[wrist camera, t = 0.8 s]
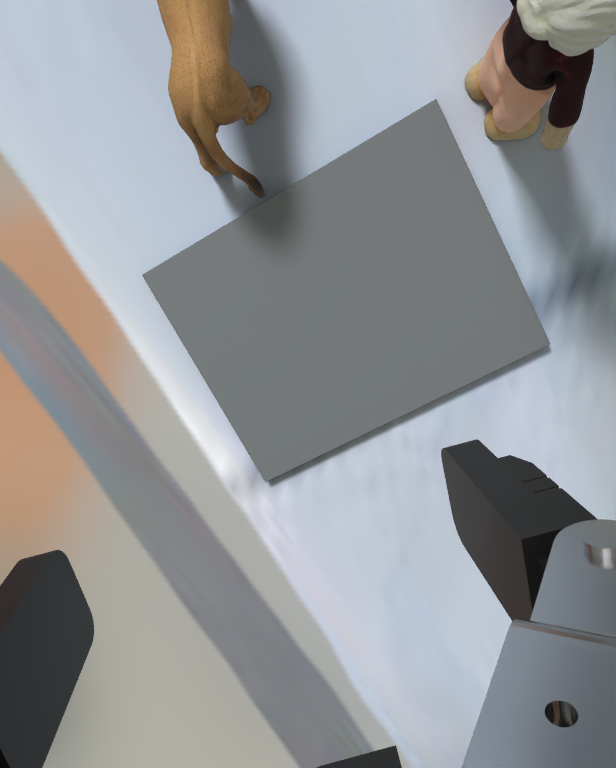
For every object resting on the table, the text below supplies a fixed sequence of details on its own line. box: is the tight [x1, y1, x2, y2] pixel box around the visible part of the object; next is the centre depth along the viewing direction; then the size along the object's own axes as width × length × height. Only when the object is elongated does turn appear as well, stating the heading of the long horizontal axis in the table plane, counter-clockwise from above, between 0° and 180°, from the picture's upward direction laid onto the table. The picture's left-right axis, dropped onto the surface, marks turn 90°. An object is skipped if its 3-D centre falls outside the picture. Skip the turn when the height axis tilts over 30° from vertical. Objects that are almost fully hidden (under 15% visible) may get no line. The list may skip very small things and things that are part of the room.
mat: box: [142, 99, 550, 482], centre depth 31 cm, size 14×18×1 cm
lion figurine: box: [157, 0, 270, 198], centre depth 24 cm, size 15×5×9 cm, turn 19°
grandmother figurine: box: [465, 0, 616, 150], centre depth 22 cm, size 8×4×13 cm, turn 37°
